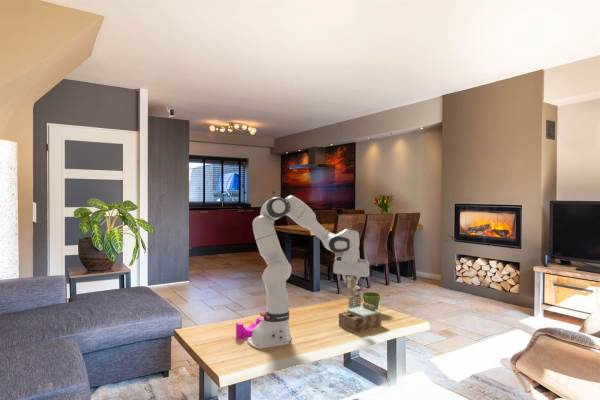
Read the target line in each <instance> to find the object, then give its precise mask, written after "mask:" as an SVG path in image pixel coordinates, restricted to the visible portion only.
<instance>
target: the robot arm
mask: <svg viewBox="0 0 600 400" xmlns="http://www.w3.org/2000/svg"><path fill="white" fill-rule="evenodd" d="M285 216H287V217H289V218H290V219H291V220H292V221H293V222H295V223H296V224H297V225H298V226H300V227H302V228H303V229H307V230H308V231H310V232H311V233H312V234H314V235H315V236H316V237H317V239H319V240H320V242H321V243H322V246H323V248H325V249H326V250H327V251H330V252H332V253H335V254H338V253H342V254H340V255H337V256H335V257H334V262H333V266H332V267H333V268H332V271H333V274H337V275H341V276H342V279H343V283H344V284H345V283H346V284H347V276H355V278H356V279H355V281H354V282H355V283H354V284H355V285H359V280H360V278H361V277H362V278H368V277H369V276H370V261H369V260H368V259H362V258H360V249H359V248H360V233H359V232H358V230H357V229H354V228H344V229H343V230H342V231H340V232H338V233H335V232H331V231H328V230H327V228H325V227H324V226H323V225H322V224H320V222H318V220H317V217H316V214H315V212H314V210H313V209H312V208H311V207H309V205H308V204H306V203H305V202H304V201H302V199H299V198H298V197H296V196H295V195H289V196H286V197H285V198H282V197H279V196H278V197H277V196H276V197H272V198H269V199H268V200H266V201H265V202H263V203H262V205H261V206H260V209H259V214H258V216H256V217H255V218H254V219H253V221H252V223H251V224H252V231H253V236H254V239H255V243H256V245H257V249H258V252H259V255H260V256H261V257H262V258H263V260H264V262H265V263H266V265H267V266H266V267H265V269H264V270H263V273H262V275H261V276H262V277H261V278H262V282H263V284H264V288H265V293H266V310H265V312H263V311H261V312H259V316H260V317H262V318H264V319H263V320H262V321H261V322H260V323H259V324H258V325H257V326H256V327H254V329H253V331H252V336H251V337H247V340H246V341H247V344H248V345H250V346H251V347H253V348H255V349H259V350H262V349H268V348H275V347H281V346H287V345H289V344H290V341H291V340H292V334H291V329H290V321H289V320H290V310H289V293H288V290H287V280H288V279H289V278H290V276H291V274H292V270H293V269H292V265H291V263H290V262H289V260H288V259H287V257H286V255H285V253H284V251H283V249H282V247H281V244H280V240H279V238H278V235H277V231H276V229H275V221H276V220H278V219H281V218H283V217H285Z"/></svg>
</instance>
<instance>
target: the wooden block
mask: <svg viewBox="0 0 600 400" xmlns="http://www.w3.org/2000/svg"><path fill="white" fill-rule="evenodd" d="M355 278H356V276H355V277H354V276H352V275H346V279H347V283H346V286H347V298H349V299H356V293H357V292H356V290H355V285H356V284H354V283H355V282H354V281H355V280H356V279H355Z"/></svg>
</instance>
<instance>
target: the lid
mask: <svg viewBox="0 0 600 400" xmlns="http://www.w3.org/2000/svg"><path fill="white" fill-rule="evenodd" d="M346 312H350V313H353V314H356V315H358V316H361V317H367V316H371V315H375V314H379V313H381V310H379V309H378V310H376V306H374V305H371V304H368V303H364V302H363V303H362V305H361V306H360V307H356V308H351V309H347V308H346ZM381 314H382V313H381Z"/></svg>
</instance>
